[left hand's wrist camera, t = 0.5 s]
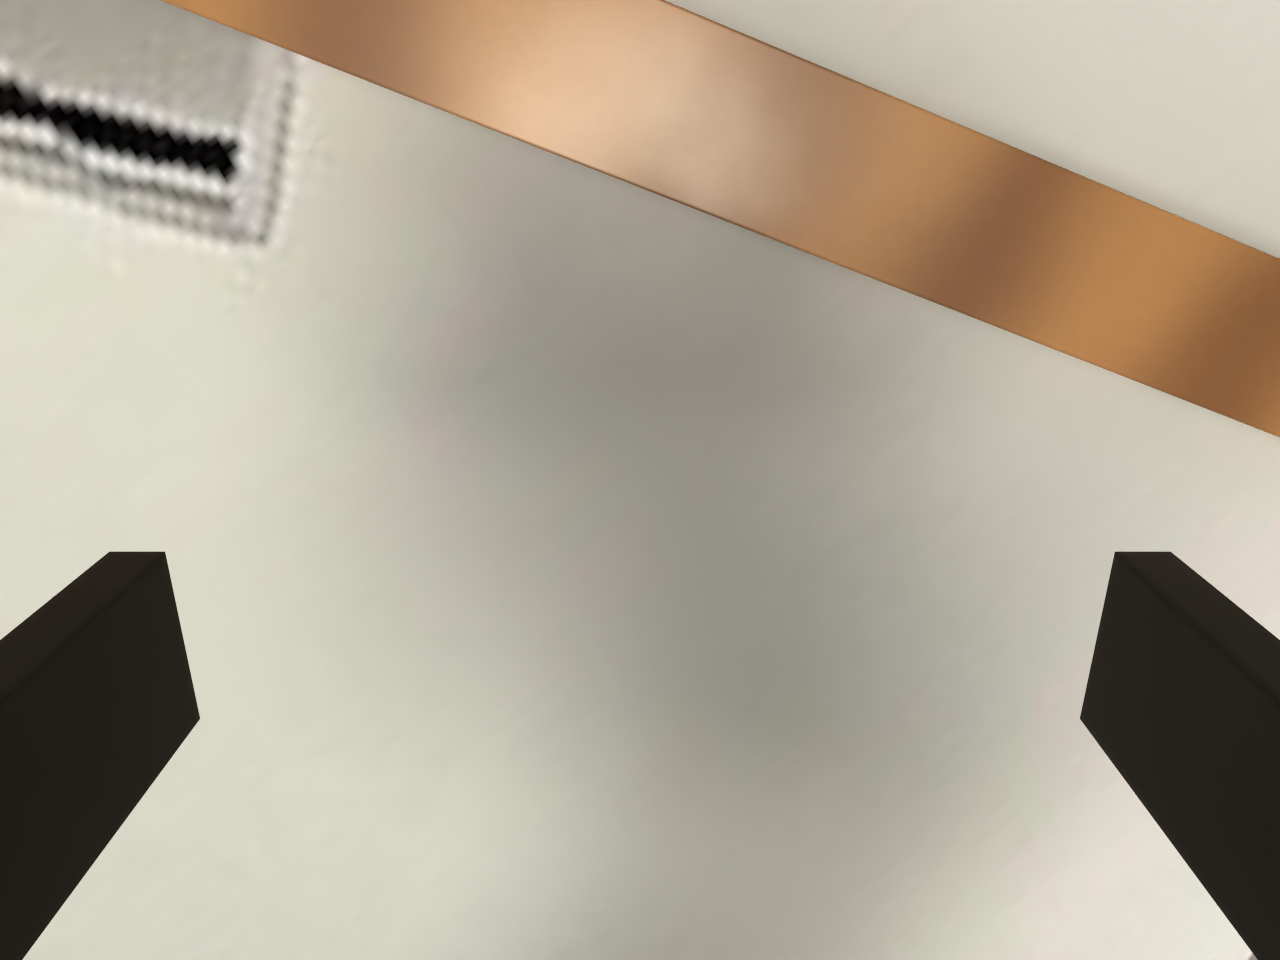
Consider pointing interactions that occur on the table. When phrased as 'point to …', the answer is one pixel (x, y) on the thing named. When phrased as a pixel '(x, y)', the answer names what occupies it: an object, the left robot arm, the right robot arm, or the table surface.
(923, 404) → the table surface
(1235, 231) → the table surface
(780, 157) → the post
